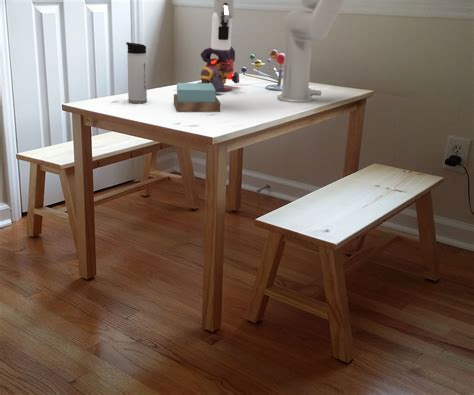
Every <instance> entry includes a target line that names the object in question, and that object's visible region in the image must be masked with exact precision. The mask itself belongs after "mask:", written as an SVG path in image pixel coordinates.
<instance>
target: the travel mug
mask: <svg viewBox="0 0 474 395" xmlns="http://www.w3.org/2000/svg"><path fill="white" fill-rule="evenodd" d="M125 45H126V46H127V92H128V93H127V94H128V96H127V98H128V102H129V103H130V104H137V105H138V104H146V103H147V102H148V99H147V97H148V94H147V90H148V88H147V87H148V86H147V85H148V84H147V82H148V81H147V79H148V78H147V45H145V44H143V43H135V42H130V41H129V42H127V41H126V42H125Z"/></svg>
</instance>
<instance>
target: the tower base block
mask: <svg viewBox="0 0 474 395" xmlns="http://www.w3.org/2000/svg"><path fill="white" fill-rule="evenodd" d="M173 105H174V108H175V110H176V113H221V102H220V100H219V99H218V97H217V96H216V95H215V102H178V98H177V93H174V94H173Z"/></svg>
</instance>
